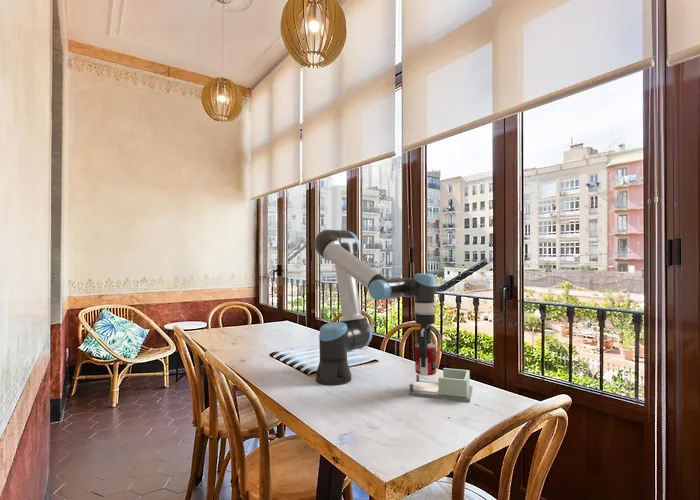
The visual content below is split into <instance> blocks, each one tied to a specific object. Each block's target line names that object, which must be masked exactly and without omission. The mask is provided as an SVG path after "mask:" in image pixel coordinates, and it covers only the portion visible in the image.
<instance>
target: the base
mask: <svg viewBox="0 0 700 500" xmlns="http://www.w3.org/2000/svg"><path fill="white" fill-rule="evenodd" d="M415 379H416V381H415V382H414V383H413V384H412V383H411V384H409V391H408V396H411V397H412V396H413V397H420V398H430V399H439V400H447V401H455V402H463V403H464V402H465V403H471V398H472V392H473V385H470V386H469V391H468V395H467V397H458V396H449V395H440V394H439V382H437V381H435V382H434V381H427V380H425V381H424V380H420V374H416V378H415Z"/></svg>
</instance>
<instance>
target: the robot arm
mask: <svg viewBox="0 0 700 500" xmlns="http://www.w3.org/2000/svg"><path fill="white" fill-rule="evenodd" d="M359 241H360V240H359V238H358V237H357V235H356V234H355V233H354V232H352V231H350V230H345V229H344V230H341V229H340V230H339V229H324V230H322V231H320V232H319V233H318V234H317V235H316V236H315V238H314V243H313V244H314V250H315V251H316V253H317V254H318V255H319V257H321V258H322V259H324V260H325V261H327V262H329V261H331V263H333V264H334V266H335V273H336V280H337V281H336V282H337V288H338V295H339V303H340V304H339V305H340V310H341V318H340V319H339V321H334V322H328V323H325V324H323V325H322V326H320V327H319V335H318V339H319V340H318V341H319V344H318V345H319V363H318V366H317V369H316V372H315V381H316V382H317V383H319V384H322V385H327V386H337V385H346V384H348V383H350V382H351V381H352V372H351V369H350V367H349V363H348V352H350V351H353V350H354V351H355V350H361V349H363V348H364V347H367V346H368V345H369V344H370V342H372V338H373V329H372V328H373V327H372V325H371V324H370V323H369V322H367V321H366V316H364V315H363V314H362V310H361V305H360V298H359V289H358V284H357V283H359V284H361V285H362V286H363V287H365V288H366V289H368V294H369V295H370V297H371V298H372V299H373V300H377V301H379V300H380V301H384V300H389V299H396V298H397V299H398V298H403V297H404V298H414V313H415V316H414V317H415V318H414V319H415V321H414V322H415V323H416V324H417V325H420V328H419V331H418V343H419V356H418V358H420V374H419V376H423V377H424V376H425V377H427V376H429V375H428V368H427V343H432V326H431V325H434V324H436V315H435V312H436V311H435V309H436V308H437V305H435V302H436V301H435V286H436V284H435V276H434V274H433V273H416V274H415V275H414V277H413V278H407V277H392V278H386V277H384V276H383V275H381V273H379V272H378V271H376V270H375V269H374V268H372V267H371V266H370V265H367V264H366V263H365V262H364V261H362V260H361V259H360V258H358V257H357V255H356V254H357V253H358V250H359V249H360V242H359ZM422 354H424V355H422Z"/></svg>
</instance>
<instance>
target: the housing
mask: <svg viewBox="0 0 700 500" xmlns="http://www.w3.org/2000/svg"><path fill="white" fill-rule="evenodd" d="M470 371H471V370H469V369H458V368H447V367H443V368H442V376H439V377H438V383H439V394H440V395H449V396H458V397H467V395H468V391H469V386H471V385H470V384H471V383H470V382H471V380H470V379H471V378H470V377H471V376H470V373H471V372H470Z"/></svg>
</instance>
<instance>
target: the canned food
mask: <svg viewBox="0 0 700 500" xmlns="http://www.w3.org/2000/svg"><path fill="white" fill-rule="evenodd" d="M422 355H424V354H422ZM418 356H419V342H417V343H415V345H414V360H415V362H414V363H415V365H414V366H415V373H416V375H420V358H418ZM427 368H428V375H427V376H434V375H436V373H437V345H436V344H435V343H433V342H431V343H427Z"/></svg>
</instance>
